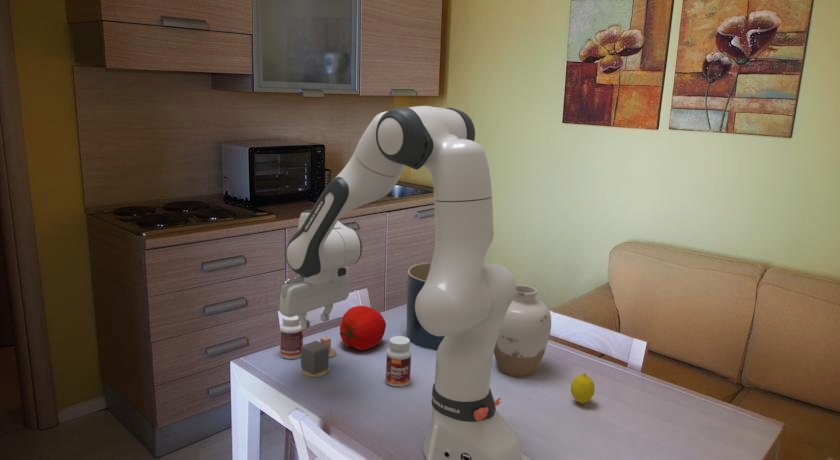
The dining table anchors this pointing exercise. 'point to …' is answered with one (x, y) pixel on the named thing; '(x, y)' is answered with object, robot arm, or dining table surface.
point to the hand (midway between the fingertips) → (315, 324)
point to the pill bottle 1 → (291, 337)
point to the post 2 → (328, 342)
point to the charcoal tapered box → (314, 357)
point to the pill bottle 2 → (398, 361)
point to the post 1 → (318, 374)
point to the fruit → (582, 388)
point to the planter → (413, 328)
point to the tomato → (362, 327)
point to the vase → (523, 334)
